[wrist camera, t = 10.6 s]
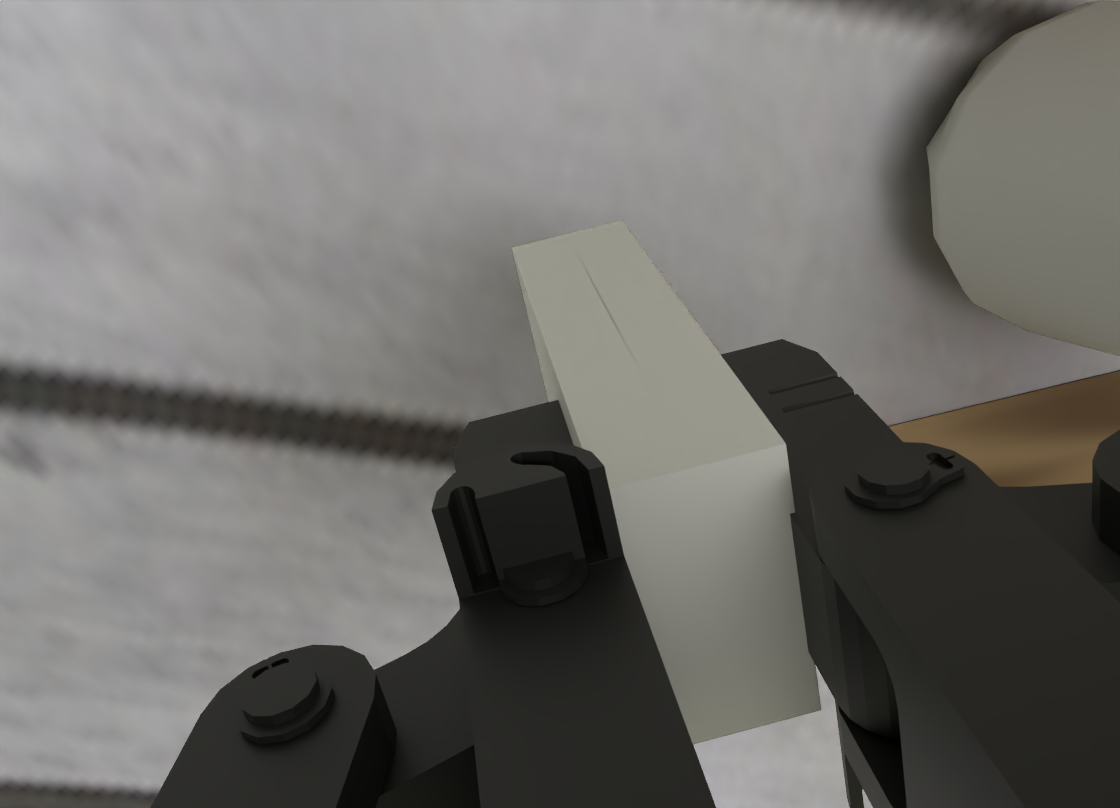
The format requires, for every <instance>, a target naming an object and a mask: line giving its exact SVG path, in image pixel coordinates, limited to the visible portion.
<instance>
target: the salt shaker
mask: <svg viewBox="0 0 1120 808" xmlns="http://www.w3.org/2000/svg"><path fill="white" fill-rule="evenodd" d="M926 149H927V156H928V163H929V172H930V189H931V205H932V221H933V236H934V238H935V240H936V242H937V244H938V245H939V247H940V249H941V251H942V253H943V254H944V256H945V258H946V260H947V262H948V264H949V265H950V267H951V269H952V271H953V273H954V275H955V276H956V278H957V280H958V282H959V284H960V286H961V287H962V289H963V291H964V292H965V293H966V295H967V296H968V297H969V299H970V300H971V301H972V303H974V304H976V305H978V306H980V307H982V308H984V309H986V310H988V311H990V312H991V313H993V314H995V315H997V316H999V317H1001V318H1003V319H1005V320H1007V321H1009V322H1011V323H1013V324H1015V325H1017V326H1019V327H1021V328H1023V329H1025V330H1027V331H1028V332H1032V333H1036V334H1039V335H1043V336H1047V337H1051V338H1054V339H1058V340H1062V341H1065V342H1069V343H1073V344H1076V345H1080V346H1084V347H1088V348H1091V349H1095V350H1099V351H1102V352H1106V353H1110V354H1113V355H1117V356H1120V1H1115V0H1102V1H1096V2H1090V3H1085V4H1083V5H1081V6H1078V7H1076V8H1074V9H1072V10H1069V11H1067V12H1065V13H1063V14H1060V15H1058V16H1056V17H1053V18H1051V19H1049V20H1047V21H1044V22H1042V23H1040V24H1037V25H1035V26H1033V27H1031V28H1028V29H1026V30H1024V31H1022V32H1019V33H1017V34H1015V35H1013V36H1012V37H1011V38H1009V39H1008V40H1007V41H1005V42H1004V43H1003V44H1002V45H1000V46H999V47H998V48H996V49H995V50H994V51H993V52H991V53H990V54H989V55H988V56H986V57H985V58H984V59H982V61H981V62H980V64H979V65H978V67H977V68H976V70H975V72H974V73H973V75H972V76H971V78H970V79H969V81H968V83H967V84H966V86H965V87H964V89H963V90H962V92H961V93H960V95H959V96H958V98H957V100H956V101H955V103H954V105H953V106H952V108H951V109H950V111H949V112H948V114H947V116H946V117H945V119H944V120H943V122H942V123H941V125H940V127H939V128H938V130H937V131H936V133H935V134H934V136H933V138H932V139H931V141H930V142H929V144H928V145H927V147H926Z"/></svg>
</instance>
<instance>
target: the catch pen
mask: <svg viewBox="0 0 1120 808" xmlns="http://www.w3.org/2000/svg"><path fill="white" fill-rule="evenodd" d="M889 428H890V429H891V430H892V431H893V432H894V433H895V434H896V435H897V436H898V437H899V438H900V439H901V440H902V441H903V442H916V443H927V444H931V445H935V446H939V447H943V448H946V449H950V450H954V451H955V452H957V453H959V454H960V455H962V456H964V457H965V458H967V459H968V460H970V461H972V462H973V463H975V464H976V465H977V466H978V467H979V468H980V469H981V470H982V471H983V472H984V473H985V474H986V475H987V476H988V477H989V478H990V479H991V480H993V481H994V482H995V483H996V484H997V485H998V486H1000V487H1030V486H1046V485H1061V484H1077V483H1092V460H1093V458H1094V455H1095V453H1096V450H1097V448H1098V446H1099V443H1100V442H1102V441H1103V440H1105V439H1106V438H1108V437H1109V436H1111V435H1112V434H1114V433H1115V432H1117V431H1118V430H1120V371H1117V372H1113V373H1108V374H1104V375H1100V376H1096V377H1092V378H1088V379H1084V380H1080V381H1075V382H1071V383H1067V384H1063V385H1059V386H1055V387H1051V388H1047V389H1042V390H1038V391H1034V392H1030V393H1026V394H1022V395H1018V396H1013V397H1009V398H1005V399H1001V400H997V401H993V402H989V403H985V404H980V405H976V406H972V407H968V408H964V409H960V410H956V411H952V412H947V413H943V414H939V415H935V416H931V417H927V418H923V419H918V420H914V421H910V422H906V423H902V424H898V425H894V426H890V427H889Z"/></svg>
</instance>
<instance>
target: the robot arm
mask: <svg viewBox="0 0 1120 808" xmlns="http://www.w3.org/2000/svg"><path fill="white" fill-rule="evenodd" d="M511 248H512V252H513V256H514V260H515V265H516V269H517V273H518V277H519V281H520V285H521V289H522V294H523V298H524V302H525V306H526V310H527V314H528V319H529V323H530V327H531V331H532V335H533V339H534V344H535V348H536V352H537V356H538V360H539V364H540V369H541V373H542V377H543V381H544V385H545V389H546V393H547V398H548V402H547V403H544V404H540V405H536V406H532V407H528V408H524V409H520V410H516V411H512V412H508V413H504V414H500V415H496V416H492V417H489V418H485V419H481V420H477V421H473V422H469V424H468V425H467V427H466V429H465V430H464V432H463V434H462V435H461V437H460V439H459V440H458V442H457V443H456V445H455V447H454V448H453V452H454V461H455V469H456V473H454V474H453V475H452V476H451V477H450V478H449V479H448V480H447V482H446V483H445V484H444V485H443V486H442V487H441V488H440V489H439V490H438V491H437V493H436V497H435V500H434V504H433V507H432V513H433V516H434V520H435V523H436V526H437V529H438V533H439V536H440V539H441V542H442V545H443V549H444V552H445V555H446V558H447V562H448V565H449V568H450V571H451V574H452V578H453V581H454V584H455V587H456V591H457V594H458V597H459V602H460V610H459V611H458V612H457V613H456V615H455V616H454V617H453V618H452V620H451V621H450V622H449V623H448V625H447V626H446V627H444V628H443V629H442V630H441V631H440V632H439V633H437V634H436V635H435V636H434V637H433V638H431V639H430V640H429V641H428V642H426V643H424V644H423V645H421V646H419V647H417V648H416V649H414V650H412V651H411V652H409V653H407V654H406V655H404V656H402V657H400V658H398V659H396V660H394V661H392V662H390V663H388V664H386V665H384V666H382V667H380V668H378V669H376V670H373V668H372V667H371V665H370V663H369V662H368V660H367V659H366V657H365V656H364V655H362V654H360V653H358V652H355V651H353V650H351V649H349V648H346V647H344V646H333V645H311V646H306V647H302V648H298V649H294V650H289V651H285V652H281V653H279V654H276V655H274V656H272V657H269V658H268V659H266V660H263V661H261V662H259V663H257V664H256V665H253V666H251V667H249V668H247V669H246V670H245V671H244V672H242V673H241V674H240V675H238V676H237V677H236V678H235V679H233V680H232V681H231V682H229V683H228V684H227V685H226V686H224V687H223V688H222V689H220V690H219V692H218V693H217V694H216V696H215V697H214V698H213V699H212V701H211V702H210V703H209V705H208V706H207V707H206V709H205V710H204V711H203V712H202V714H201V715H200V717H199V719H198V721H197V723H196V724H195V726H194V728H193V730H192V732H191V734H190V736H189V737H188V739H187V741H186V743H185V745H184V747H183V749H182V750H181V752H180V754H179V756H178V758H177V760H176V762H175V763H174V765H173V767H172V769H171V771H170V773H169V775H168V777H167V778H166V780H165V782H164V784H163V786H162V788H161V790H160V791H159V793H158V795H157V797H156V799H155V801H154V803H153V804H152V806H151V808H716V806H715V804H714V801H713V798H712V796H711V793H710V790H709V787H708V785H707V782H706V779H705V776H704V774H703V771H702V768H701V765H700V763H699V760H698V757H697V754H696V752H695V749H694V746H693V744H696V743H700V742H704V741H708V740H711V739H715V738H719V737H722V736H726V735H730V734H734V733H737V732H741V731H745V730H748V729H752V728H756V727H760V726H763V725H767V724H771V723H775V722H778V721H782V720H786V719H789V718H793V717H797V716H801V715H804V714H808V713H812V712H816V711H819V710H821V704H820V697H819V689H818V682H817V674H816V667H815V664H816V666H817V668H818V670H819V671H820V673H821V675H822V677H823V679H824V680H825V682H826V684H827V686H828V687H829V689H830V691H831V693H832V695H833V696H834V698H835V704H836V712H837V720H838V728H839V736H840V744H841V752H842V760H843V768H844V776H845V784H846V792H847V798H848V803H849V807H850V808H864V804H863V795H862V789H864V791H865V793H866V795H867V797H868V799H869V801H870V802H871V804H872V806H873V808H1120V430H1118V431H1117V432H1115V433H1114V434H1112V435H1111V436H1109V437H1108V438H1106V439H1105V440H1103V441H1102V442H1100V443H1099V446H1098V448H1097V450H1096V453H1095V455H1094V458H1093V460H1092V483H1077V484H1061V485H1046V486H1030V487H1000V486H998V485H997V484H996V483H995V482H994V481H993V480H991V479H990V478H989V477H988V476H987V475H986V474H985V473H984V472H983V471H982V470H981V469H980V468H979V467H978V466H977V465H976V464H975V463H973V462H972V461H970V460H968V459H967V458H965V457H964V456H962V455H960V454H959V453H957V452H955V451H954V450H950V449H946V448H943V447H939V446H935V445H931V444H927V443H916V442H903V441H902V440H901V439H900V438H899V437H898V436H897V435H896V434H895V433H894V432H893V431H892V430H891V429H890V428H889V427H888V426H887V425H886V424H885V423H884V422H883V421H882V419H881V418H880V417H879V416H878V415H877V414H876V413H875V412H874V411H873V410H872V409H871V408H870V407H869V406H868V405H867V404H866V403H865V402H864V401H863V400H862V399H861V398H860V396H859V395H858V394H856V395H854V392H853V389H852V388H851V387H850V386H849V385H848V384H847V383H846V382H845V381H844V380H843V379H842V378H841V377H838V376H837V372H836V371H835V370H834V369H833V368H832V367H831V366H830V365H829V364H828V363H827V362H826V361H825V360H824V359H823V358H822V357H821V356H820V355H819V354H818V353H817V352H815V351H813V350H810V349H807V348H804V347H802V346H799V345H796V344H794V343H791V342H788V341H786V340H783V339H781V340H777V341H773V342H769V343H765V344H761V345H757V346H753V347H750V348H746V349H742V350H738V351H734V352H730V353H726V354H722V355H720V353H719V352H718V351H717V349H716V348H715V347H714V345H713V344H712V342H711V341H710V340H709V338H708V337H707V336H706V334H705V333H704V332H703V330H702V329H701V327H700V326H699V325H698V323H697V322H696V321H695V319H694V318H693V317H692V315H691V314H690V313H689V311H688V310H687V308H686V307H685V306H684V304H683V303H682V302H681V300H680V299H679V298H678V296H677V295H676V293H675V292H674V291H673V289H672V288H671V287H670V285H669V284H668V283H667V281H666V280H665V278H664V277H663V276H662V274H661V273H660V272H659V270H658V269H657V268H656V266H655V265H654V264H653V262H652V261H651V259H650V258H649V257H648V255H647V254H646V253H645V251H644V250H643V249H642V247H641V246H640V244H639V243H638V242H637V240H636V239H635V238H634V236H633V235H632V234H631V232H630V231H629V229H628V228H627V227H626V225H625V224H624V223H623V221H622V220H620V221H616V222H612V223H608V224H604V225H600V226H596V227H592V228H588V229H584V230H580V231H576V232H572V233H568V234H564V235H560V236H556V237H552V238H548V239H544V240H540V241H536V242H532V243H528V244H524V245H519V246H515V247H511Z"/></svg>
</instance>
